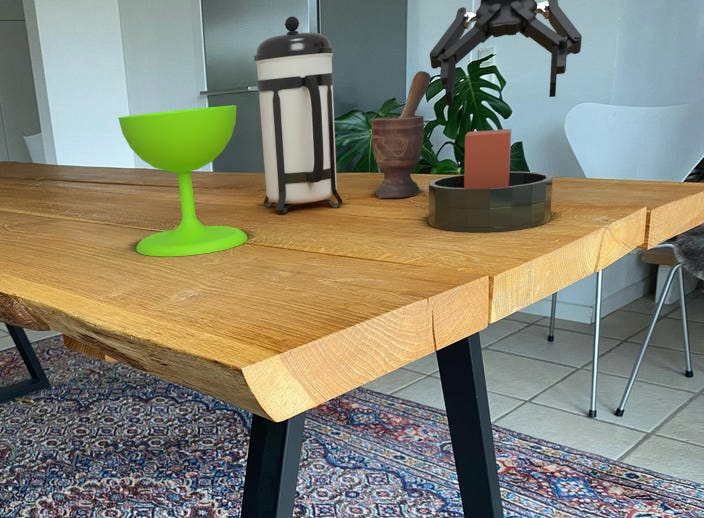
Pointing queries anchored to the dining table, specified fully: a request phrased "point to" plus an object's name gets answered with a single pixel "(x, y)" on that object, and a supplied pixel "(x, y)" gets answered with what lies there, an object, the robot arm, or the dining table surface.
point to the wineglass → (183, 171)
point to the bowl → (490, 204)
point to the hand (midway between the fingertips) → (499, 94)
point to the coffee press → (297, 118)
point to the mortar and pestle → (400, 143)
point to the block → (487, 159)
